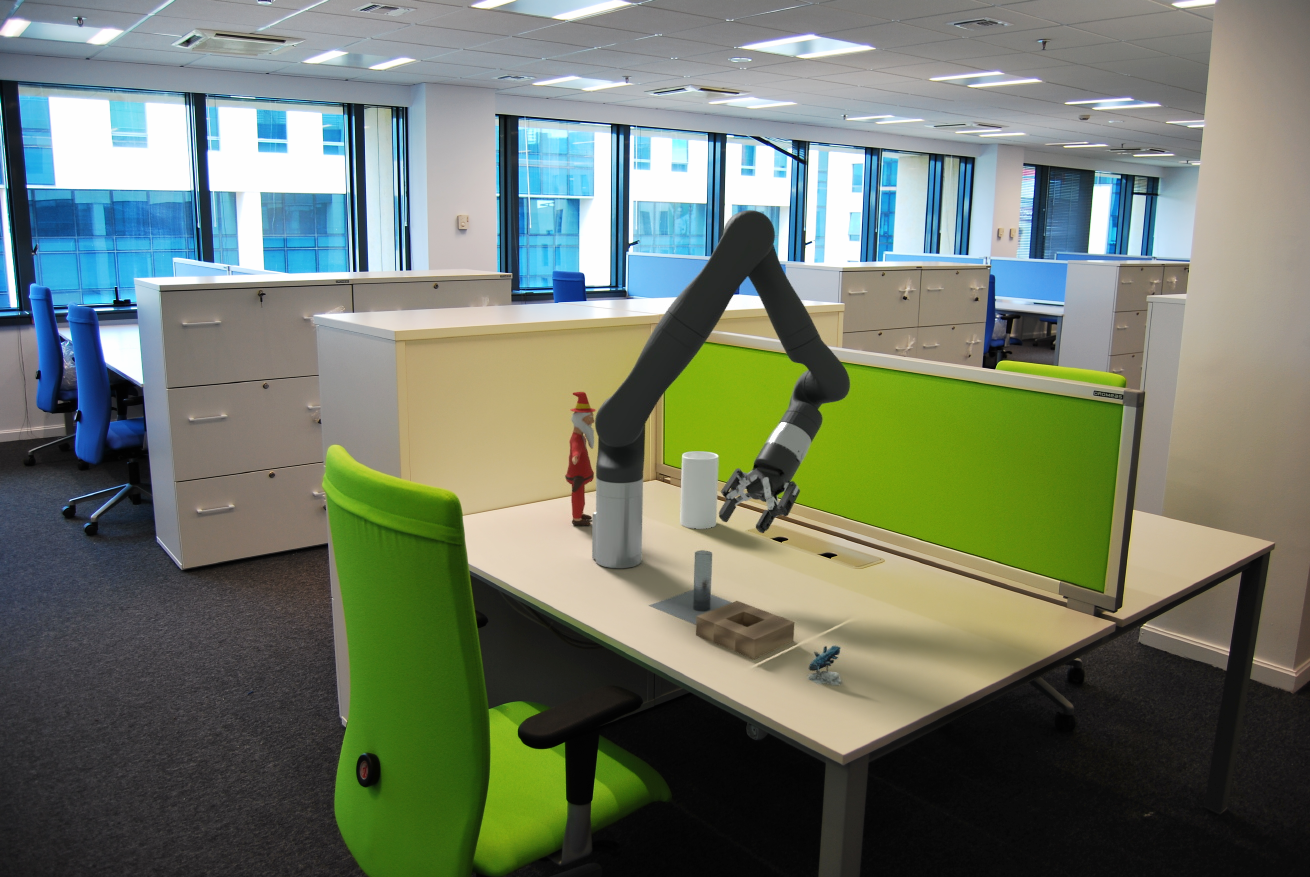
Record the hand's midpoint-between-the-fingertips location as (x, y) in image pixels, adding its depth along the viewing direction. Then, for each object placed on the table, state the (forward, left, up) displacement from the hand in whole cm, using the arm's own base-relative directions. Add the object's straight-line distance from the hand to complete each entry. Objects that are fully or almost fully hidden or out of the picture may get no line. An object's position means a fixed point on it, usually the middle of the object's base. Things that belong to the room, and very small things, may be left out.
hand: (740, 525), depth 163 cm
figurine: (-53, +7, -14) cm, 55 cm away
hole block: (+13, -14, -13) cm, 23 cm away
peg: (0, -10, -13) cm, 16 cm away
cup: (-35, +27, -14) cm, 46 cm away
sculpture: (+30, -16, -14) cm, 37 cm away
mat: (0, -10, -13) cm, 17 cm away
